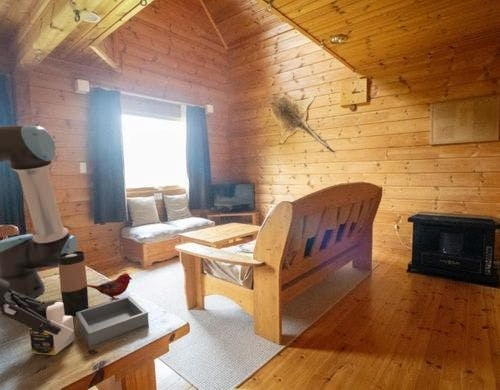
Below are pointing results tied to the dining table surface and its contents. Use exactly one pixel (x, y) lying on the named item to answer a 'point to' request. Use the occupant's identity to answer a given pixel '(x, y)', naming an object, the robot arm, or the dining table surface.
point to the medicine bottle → (45, 340)
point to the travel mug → (73, 282)
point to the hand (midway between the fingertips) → (65, 327)
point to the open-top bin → (111, 321)
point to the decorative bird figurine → (114, 286)
